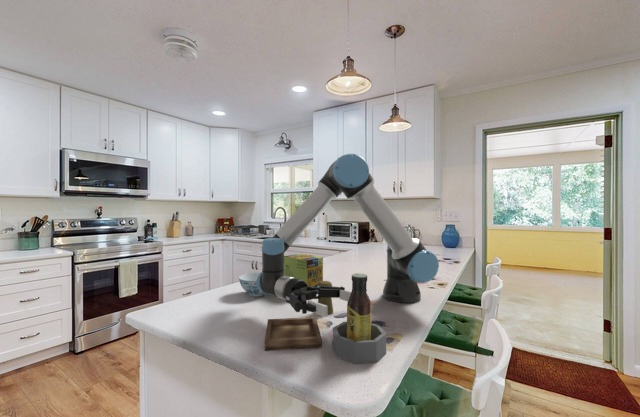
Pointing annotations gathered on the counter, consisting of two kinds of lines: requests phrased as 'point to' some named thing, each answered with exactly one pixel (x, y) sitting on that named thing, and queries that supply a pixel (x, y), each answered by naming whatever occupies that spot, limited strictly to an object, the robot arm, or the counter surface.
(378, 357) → the holder cup
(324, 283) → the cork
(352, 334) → the sauce bottle
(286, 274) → the protein box
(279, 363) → the counter surface
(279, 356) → the counter surface
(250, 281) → the chinaware
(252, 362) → the counter surface
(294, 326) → the tray
